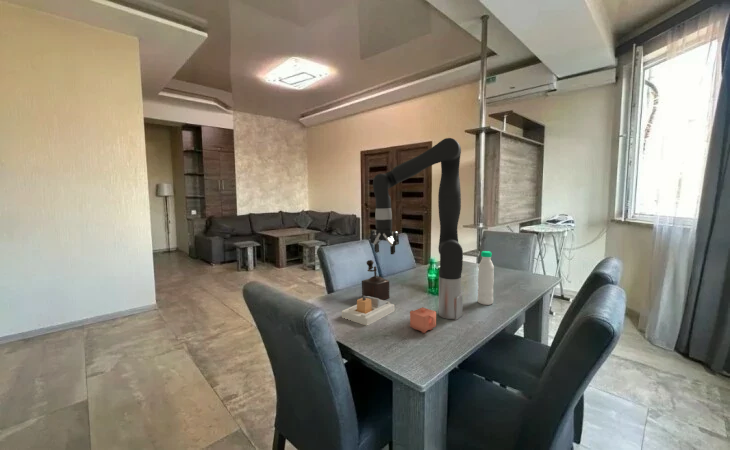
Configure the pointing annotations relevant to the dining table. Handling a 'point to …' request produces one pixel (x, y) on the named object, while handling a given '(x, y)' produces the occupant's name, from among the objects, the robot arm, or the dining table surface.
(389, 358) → the dining table surface
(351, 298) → the dining table surface
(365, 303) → the plug
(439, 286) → the robot arm
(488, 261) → the white milk bottle
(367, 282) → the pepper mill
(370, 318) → the socket plate
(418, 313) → the pink cube teapot
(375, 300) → the grey block
